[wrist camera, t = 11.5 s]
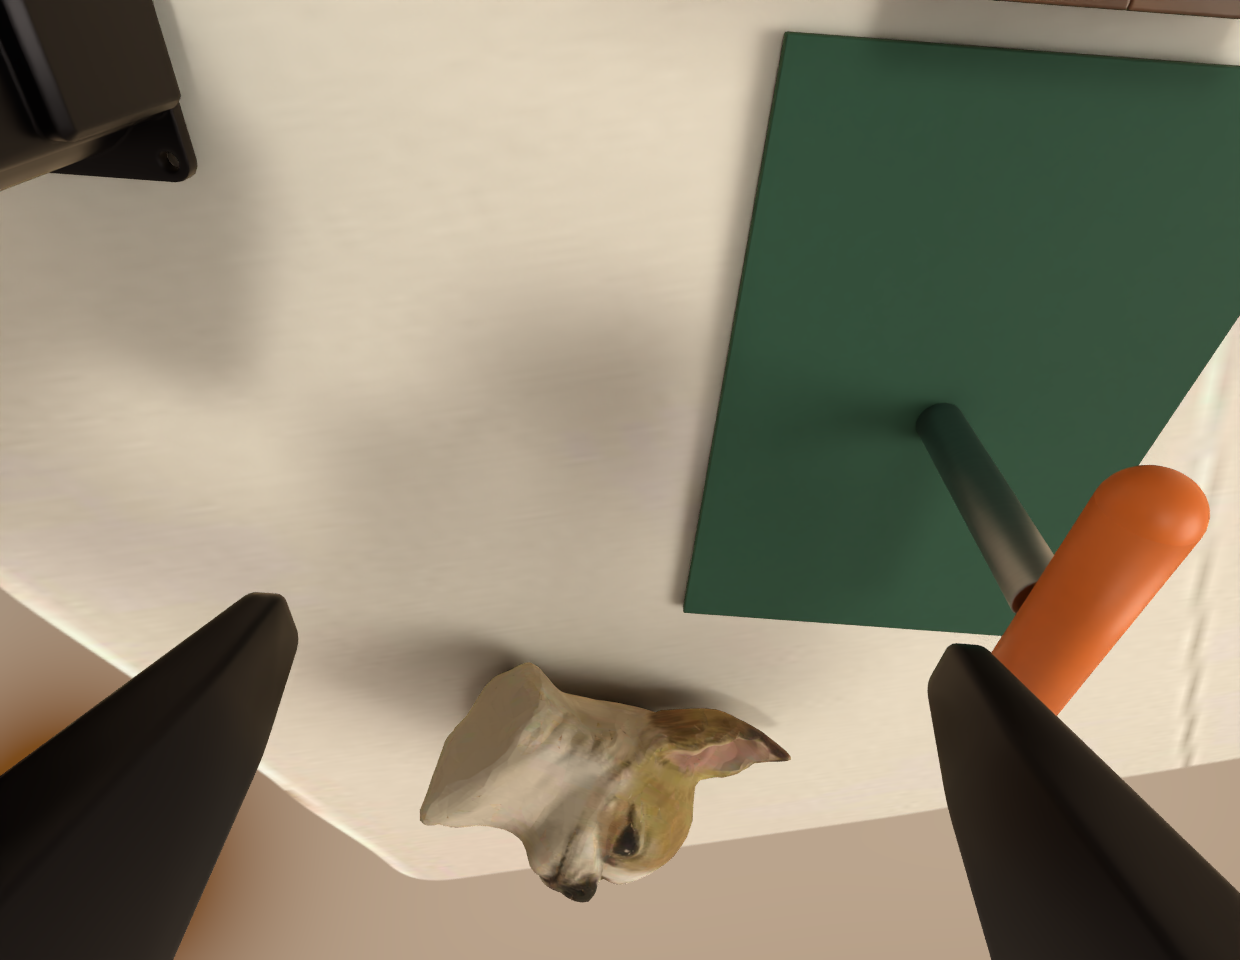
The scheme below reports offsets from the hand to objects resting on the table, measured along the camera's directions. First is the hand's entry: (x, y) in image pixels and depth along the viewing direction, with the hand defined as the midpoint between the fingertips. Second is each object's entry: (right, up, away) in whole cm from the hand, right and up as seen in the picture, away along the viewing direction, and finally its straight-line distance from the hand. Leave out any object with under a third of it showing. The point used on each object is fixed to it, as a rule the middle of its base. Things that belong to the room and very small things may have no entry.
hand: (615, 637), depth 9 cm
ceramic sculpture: (-1, -9, +24) cm, 26 cm away
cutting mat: (+10, +4, +13) cm, 17 cm away
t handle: (+10, +4, +12) cm, 17 cm away
